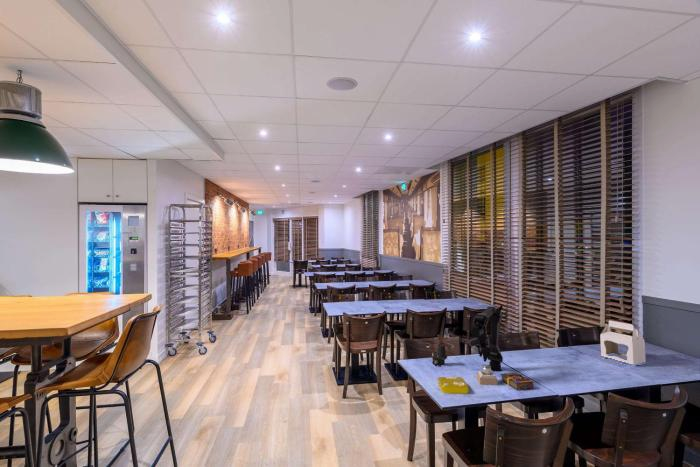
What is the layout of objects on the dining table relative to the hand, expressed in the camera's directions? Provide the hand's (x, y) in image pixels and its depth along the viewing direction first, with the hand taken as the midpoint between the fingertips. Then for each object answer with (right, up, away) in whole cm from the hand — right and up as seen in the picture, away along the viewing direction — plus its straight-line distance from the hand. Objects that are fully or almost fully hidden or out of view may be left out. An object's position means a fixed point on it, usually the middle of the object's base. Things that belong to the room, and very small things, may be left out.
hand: (482, 358), depth 214 cm
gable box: (+114, -13, +30) cm, 119 cm away
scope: (-20, -14, +25) cm, 35 cm away
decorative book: (+16, -12, -12) cm, 23 cm away
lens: (0, -8, -7) cm, 10 cm away
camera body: (0, -12, -7) cm, 14 cm away
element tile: (-24, -12, -16) cm, 31 cm away
